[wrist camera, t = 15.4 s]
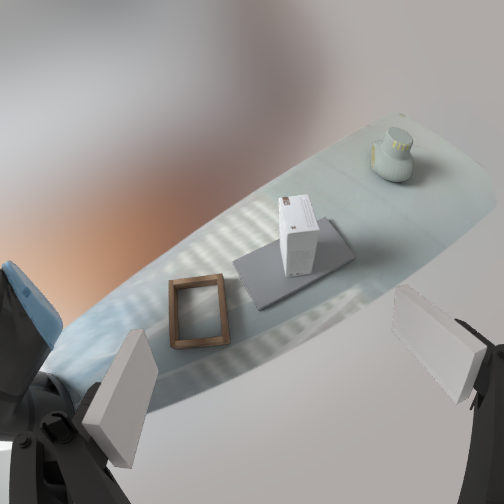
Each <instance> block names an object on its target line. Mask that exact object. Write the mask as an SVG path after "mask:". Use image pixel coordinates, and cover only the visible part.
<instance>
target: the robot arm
mask: <svg viewBox="0 0 504 504" xmlns="http://www.w3.org/2000/svg"><path fill="white" fill-rule="evenodd" d="M393 313H394V314H393V324H392V332H393V333H394V334H395V335H396V336H397V337H398V338H399V340H400V341H401V342H402V343H403V344H404V345H405V346H406V347H407V348H408V349H409V351H410V352H411V353H412V354H413V355H414V356H415V357H416V358H417V359H418V361H419V362H420V363H421V364H422V365H423V366H424V367H425V369H426V370H427V371H428V372H429V373H430V374H431V375H432V377H433V378H434V379H435V380H436V381H437V382H438V383H439V384H440V386H441V387H442V388H443V389H444V390H445V392H446V393H447V394H448V395H449V396H450V397H451V399H452V400H453V401H454V402H455V403H456V404H458V403H460V402H462V401H463V400H466V399H467V398H469V396H470V394H471V391H472V389H473V388H474V389H475V390H476V391H477V393H476V396H475V398H474V400H473V402H472V405H471V407H470V410H472V408H473V406H474V418H473V427H472V435H471V443H470V449H469V455H468V461H467V467H466V471H465V476H464V480H463V485H462V488H461V492H460V496H459V500H458V503H457V504H504V344H500V345H497V346H495V345H494V344H492V343H491V342H490V341H489V340H487V339H486V338H485V337H483V336H482V335H481V334H480V333H479V332H478V333H477V331H476V330H475V329H473V328H472V327H471V326H470V325H468V324H467V323H466V322H464V321H461V320H458V319H452V318H451V317H450V316H448V315H447V314H446V313H444V312H443V311H442V310H441V309H439V308H438V307H437V306H435V305H434V304H432V303H431V302H430V301H429V300H427V299H426V298H425V297H423V296H422V295H420V294H419V293H418V292H416V291H415V290H413V289H412V288H411V287H409V286H408V285H403V286H399V287H395V299H394V312H393ZM62 329H63V323H62V319H61V317H60V315H59V314H58V312H57V311H56V310H55V308H54V307H53V306H52V304H51V303H50V302H49V301H48V300H47V299H46V297H45V296H44V295H43V294H42V293H41V292H40V291H39V289H38V288H37V287H36V286H35V285H34V284H33V282H32V281H31V280H30V279H29V278H28V277H27V276H26V275H25V274H24V272H22V270H21V269H20V268H19V267H18V266H17V265H16V264H14V263H13V262H12V261H7V262H6V263H4V264H2V268H1V269H0V441H11V442H13V443H12V453H11V464H10V483H9V504H131V503H130V501H129V500H128V498H127V497H126V496H125V494H124V493H123V491H122V490H121V488H120V486H119V485H118V483H117V482H116V480H115V478H114V477H113V475H112V473H111V472H110V470H109V469H108V468H107V467H106V464H107V461H108V459H109V460H110V461H111V463H112V464H113V465H114V466H115V467H120V468H129V469H131V468H132V465H133V460H134V457H135V453H136V449H137V445H138V442H139V438H140V434H141V431H142V427H143V424H144V420H145V416H146V413H147V409H148V406H149V403H150V399H151V396H152V393H153V389H154V386H155V383H156V379H157V376H158V373H159V370H158V367H157V365H156V362H155V360H154V357H153V354H152V352H151V349H150V346H149V343H148V340H147V338H146V335H145V332H144V329H137V330H130V331H129V333H128V335H127V337H126V339H125V340H124V342H123V344H122V346H121V347H120V349H119V351H118V353H117V355H116V357H115V358H114V360H113V362H112V364H111V366H110V368H109V370H108V371H107V373H106V375H105V377H104V379H103V381H102V383H101V382H96V383H95V384H93V385H92V386H91V387H90V388H89V389H88V391H87V393H86V394H85V396H84V399H83V400H82V402H81V405H80V406H79V407H78V409H77V411H76V413H74V408H73V404H72V401H71V398H70V396H69V394H68V392H67V390H66V388H65V387H64V385H63V384H62V383H61V382H60V381H59V380H58V379H57V378H56V377H54V376H53V375H51V374H48V373H45V372H42V371H39V370H40V368H41V366H42V365H43V363H44V362H45V360H46V358H47V357H48V355H49V354H50V352H51V351H52V350H53V349H54V344H55V342H56V341H57V339H58V337H59V335H60V334H61V332H62Z"/></svg>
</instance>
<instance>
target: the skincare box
mask: <svg viewBox="0 0 504 504" xmlns="http://www.w3.org/2000/svg"><path fill="white" fill-rule="evenodd" d="M279 228H280V249H281V254H282V260H283V265H284V271H285V276H286V277H292V276H300V275H307V274H311V272H312V267H313V262H314V257H315V252H316V246H317V241H318V235H319V231H320V229H319V226H318V223H317V219H316V216H315V213H314V210H313V207H312V204H311V201H310V198H309V195H308V194H307V195H298V196H290V197H283V198H279Z"/></svg>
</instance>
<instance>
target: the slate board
mask: <svg viewBox="0 0 504 504" xmlns="http://www.w3.org/2000/svg"><path fill="white" fill-rule="evenodd" d="M317 223H318V226H319V229H320V231H319V235H318V241H317V246H316V252H315V257H314V262H313V267H312V272H311V274H307V275H300V276H292V277H286V276H285V271H284V265H283V260H282V254H281V249H280V239H278V240H276V241H274V242H272V243H270V244H268V245H266V246H264V247H262V248H259V249H257V250H255V251H253V252H251V253H249V254H247V255H245V256H243V257H241V258H239V259H237V260H234V261H232V262H233V265H234V267H235V269H236V271H237V272H238V274H239V276H240V278H241V280H242V282H243V283H244V285H245V287H246V289H247V291H248V292H249V294H250V296H251V298H252V300H253V301H254V303H255V305H256V307H257V309H258V310H259V311H260V310H262V309H264V308H266V307H268V306H269V305H271V304H273V303H275V302H277V301H279V300H281V299H283V298H285V297H287V296H289V295H290V294H292V293H294V292H296V291H298V290H300V289H302V288H304V287H305V286H307V285H309V284H311V283H313V282H315V281H316V280H318V279H320V278H322V277H324V276H325V275H327V274H329V273H331V272H333V271H334V270H336V269H338V268H340V267H341V266H343V265H345V264H347V263H348V262H350V261H352V260H354V259H355V257H356V256H355V255H354V253H353V252H352V251H351V249H350V248H349V247H348V245H347V244H346V243H345V241H344V240H343V239H342V238H341V236H340V235H339V234H338V232H337V231H336V230H335V228H334V227H333V226H332V225H331V223H330V222H329V221H328V220H327V218H326V217H324V218H322V219H320V220H318V221H317Z"/></svg>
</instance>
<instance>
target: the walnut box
mask: <svg viewBox="0 0 504 504" xmlns="http://www.w3.org/2000/svg"><path fill="white" fill-rule="evenodd" d="M216 284H218V294H219V306H220V317H221V327H222V336H220V337H210V338H201V339H190V340H179V331H178V305H177V289H185V288H193V287H201V286H208V285H216ZM169 330H170V347H172V348H173V349H182V348H194V347H205V346H215V345H224V344H230V335H229V326H228V316H227V306H226V296H225V285H224V278H223V275H222V274H215V275H207V276H200V277H192V278H184V279H177V280H169Z"/></svg>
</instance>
